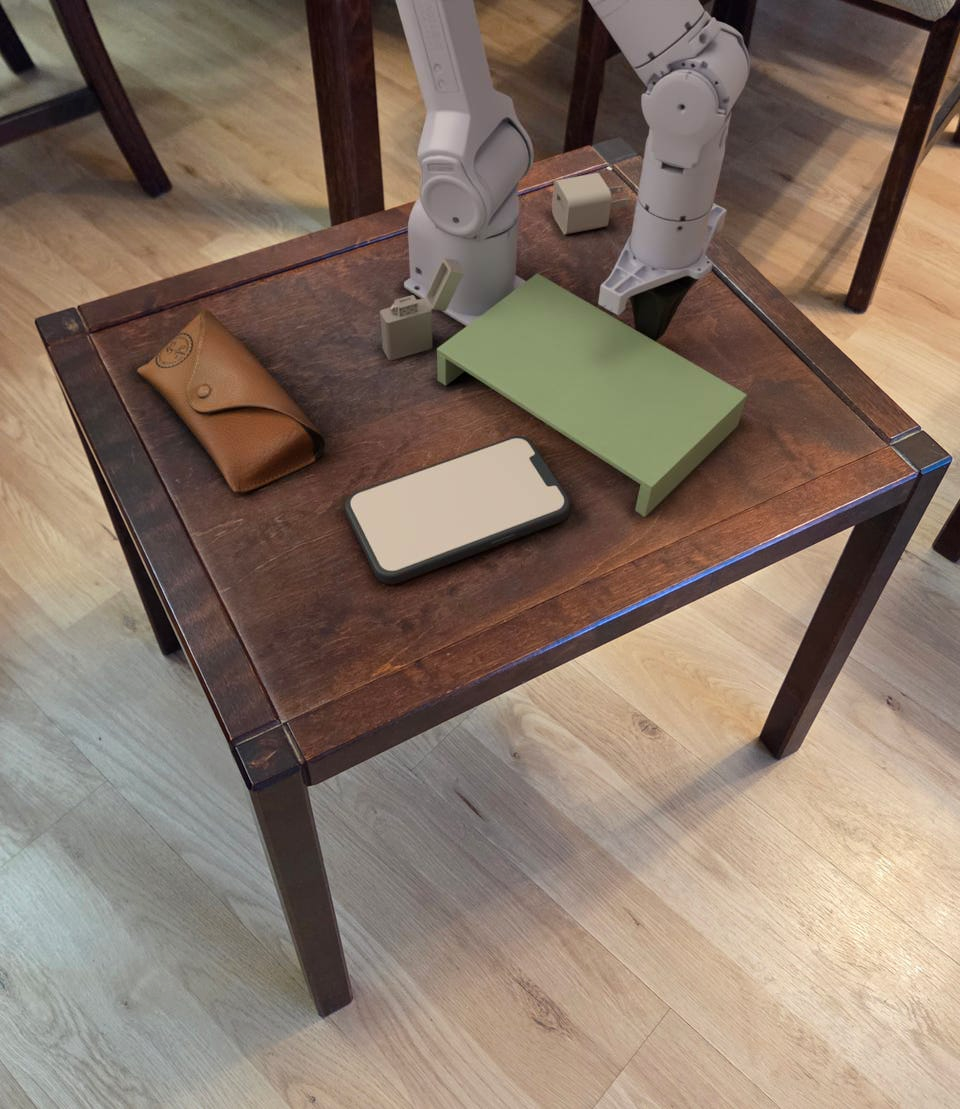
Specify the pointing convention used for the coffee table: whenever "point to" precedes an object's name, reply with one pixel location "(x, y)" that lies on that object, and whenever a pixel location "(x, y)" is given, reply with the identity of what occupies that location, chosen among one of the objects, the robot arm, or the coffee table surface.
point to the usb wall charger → (584, 203)
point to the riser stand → (597, 384)
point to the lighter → (418, 314)
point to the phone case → (455, 509)
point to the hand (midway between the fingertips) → (649, 333)
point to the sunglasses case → (233, 405)
